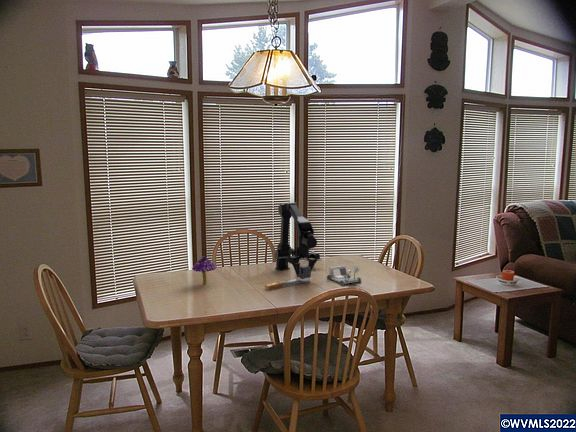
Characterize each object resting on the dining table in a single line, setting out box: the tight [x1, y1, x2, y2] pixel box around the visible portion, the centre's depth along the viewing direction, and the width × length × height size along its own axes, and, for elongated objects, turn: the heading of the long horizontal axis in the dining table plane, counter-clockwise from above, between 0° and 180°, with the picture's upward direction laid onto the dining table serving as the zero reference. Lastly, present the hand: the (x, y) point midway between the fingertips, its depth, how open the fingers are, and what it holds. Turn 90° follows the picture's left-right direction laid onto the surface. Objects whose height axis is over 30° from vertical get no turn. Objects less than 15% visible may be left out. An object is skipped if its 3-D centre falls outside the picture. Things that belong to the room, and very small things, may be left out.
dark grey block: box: [296, 263, 312, 279], centre depth 242 cm, size 5×5×6 cm
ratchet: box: [264, 276, 311, 291], centre depth 236 cm, size 28×7×6 cm, turn 128°
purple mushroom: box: [191, 256, 217, 286], centre depth 237 cm, size 12×12×15 cm
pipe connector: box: [303, 250, 322, 269], centre depth 272 cm, size 10×10×10 cm
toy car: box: [326, 265, 362, 287], centre depth 242 cm, size 18×10×12 cm
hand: (303, 273), depth 242 cm, fingers open, 8 cm apart
